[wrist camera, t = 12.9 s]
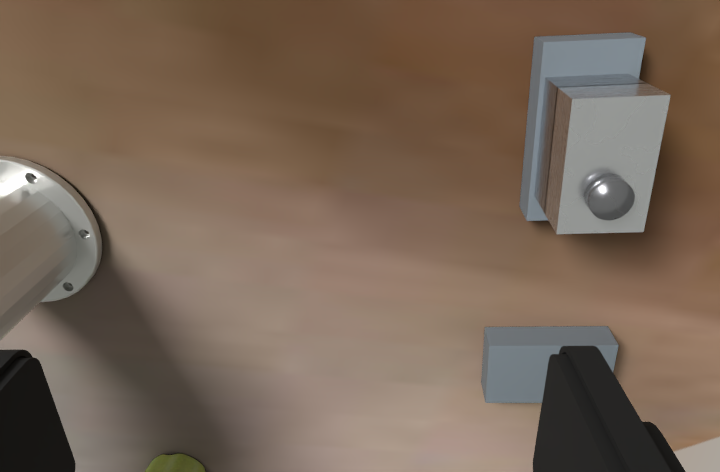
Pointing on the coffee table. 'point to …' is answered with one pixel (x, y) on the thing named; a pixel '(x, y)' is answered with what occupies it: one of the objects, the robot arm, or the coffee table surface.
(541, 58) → the stand
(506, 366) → the stand
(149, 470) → the plant pot
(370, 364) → the coffee table surface
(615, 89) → the block
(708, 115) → the coffee table surface
